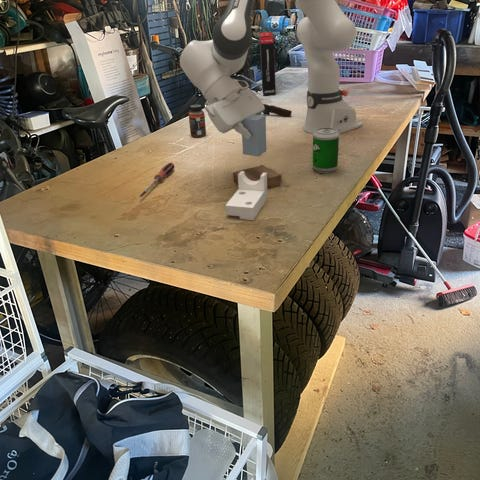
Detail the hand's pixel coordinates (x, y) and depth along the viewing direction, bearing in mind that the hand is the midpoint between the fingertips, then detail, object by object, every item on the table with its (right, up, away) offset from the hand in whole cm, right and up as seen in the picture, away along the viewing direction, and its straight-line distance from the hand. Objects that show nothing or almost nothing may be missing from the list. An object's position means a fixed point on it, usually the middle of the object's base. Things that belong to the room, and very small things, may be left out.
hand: (256, 134), depth 130 cm
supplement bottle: (-20, +11, +52) cm, 57 cm away
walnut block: (0, -13, +7) cm, 15 cm away
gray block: (0, -5, +3) cm, 5 cm away
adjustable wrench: (+6, +24, +73) cm, 77 cm away
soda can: (+21, -8, +14) cm, 26 cm away
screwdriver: (-29, -13, +12) cm, 33 cm away
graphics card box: (+10, +45, +110) cm, 120 cm away
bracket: (-2, -21, -6) cm, 22 cm away
